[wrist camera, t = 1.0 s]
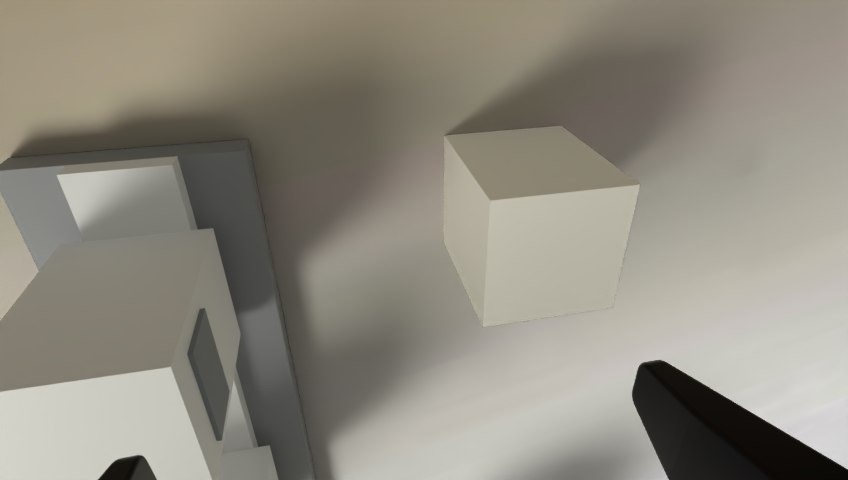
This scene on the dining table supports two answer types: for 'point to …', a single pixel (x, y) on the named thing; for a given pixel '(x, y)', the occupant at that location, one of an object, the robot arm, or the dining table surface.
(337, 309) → the dining table surface
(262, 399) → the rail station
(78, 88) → the dining table surface
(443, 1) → the dining table surface
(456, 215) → the block
